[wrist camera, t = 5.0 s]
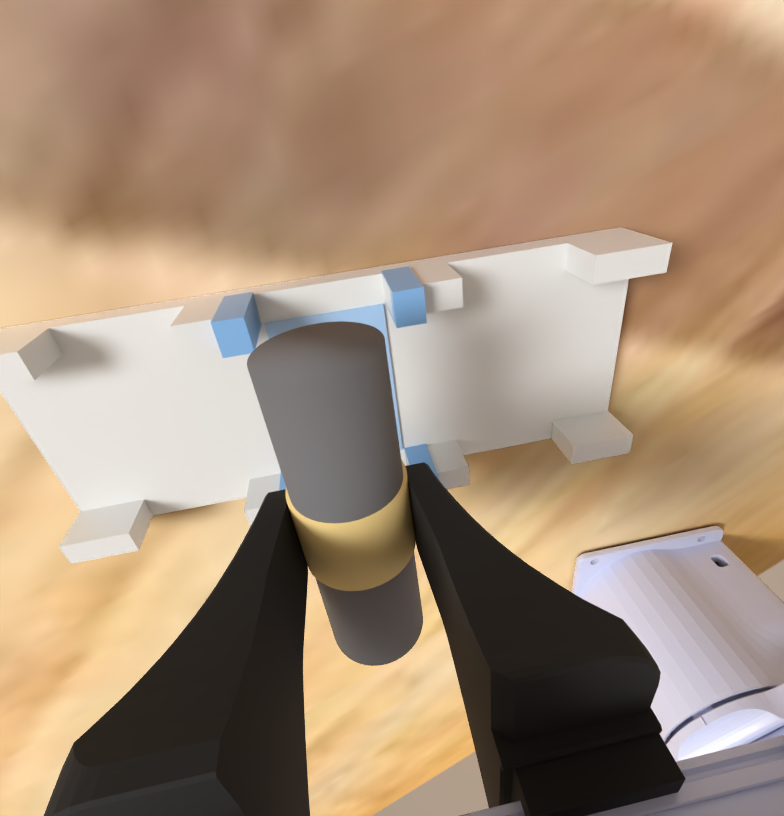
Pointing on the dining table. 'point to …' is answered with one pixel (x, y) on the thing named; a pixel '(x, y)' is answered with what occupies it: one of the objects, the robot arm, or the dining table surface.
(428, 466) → the robot arm
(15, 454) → the dining table surface
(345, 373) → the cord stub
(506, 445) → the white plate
